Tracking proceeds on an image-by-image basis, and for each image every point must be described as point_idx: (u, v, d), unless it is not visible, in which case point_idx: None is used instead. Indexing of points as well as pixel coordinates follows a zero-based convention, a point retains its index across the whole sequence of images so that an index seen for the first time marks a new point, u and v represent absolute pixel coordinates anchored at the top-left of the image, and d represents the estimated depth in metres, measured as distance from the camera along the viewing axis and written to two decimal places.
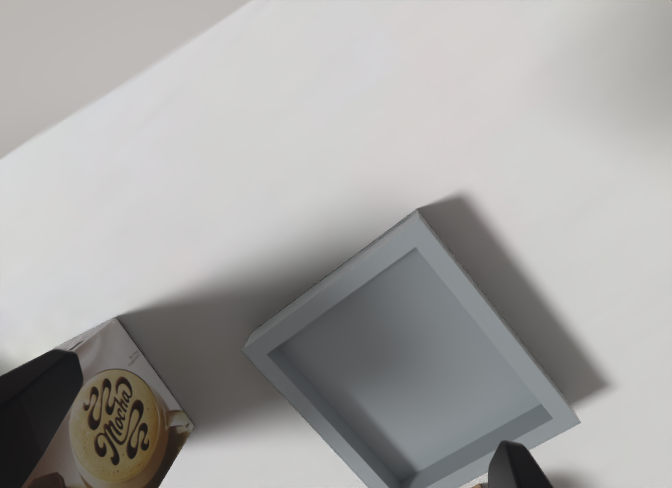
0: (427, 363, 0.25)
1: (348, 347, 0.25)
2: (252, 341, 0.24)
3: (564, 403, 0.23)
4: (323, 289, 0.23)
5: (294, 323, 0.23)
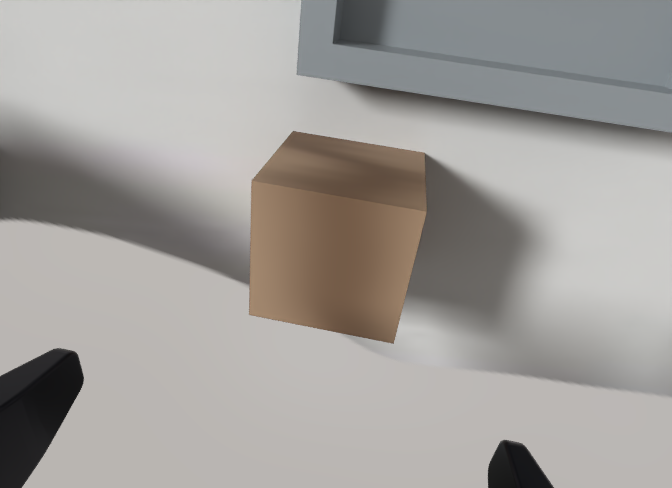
0: None
1: None
2: None
3: None
4: None
5: None
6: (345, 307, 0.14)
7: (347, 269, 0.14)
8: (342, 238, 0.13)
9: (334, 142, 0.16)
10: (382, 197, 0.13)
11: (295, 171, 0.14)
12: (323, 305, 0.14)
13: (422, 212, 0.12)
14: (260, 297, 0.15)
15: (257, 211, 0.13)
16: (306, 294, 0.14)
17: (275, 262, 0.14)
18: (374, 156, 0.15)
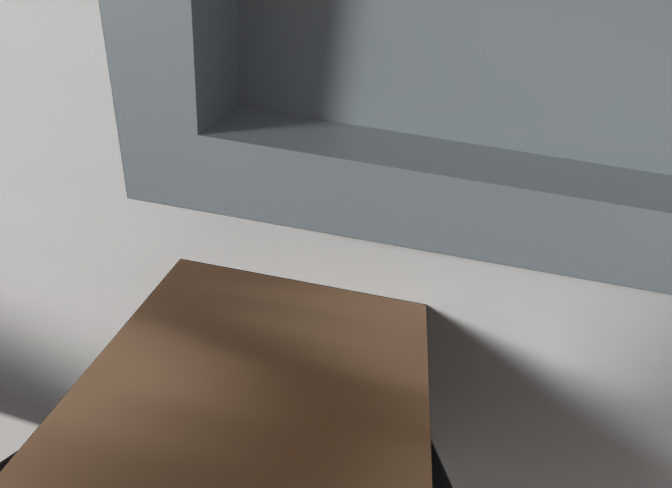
0: None
1: None
2: None
3: None
4: None
5: None
6: None
7: None
8: None
9: (251, 289, 0.08)
10: None
11: (119, 430, 0.06)
12: None
13: None
14: None
15: None
16: None
17: None
18: (324, 334, 0.08)
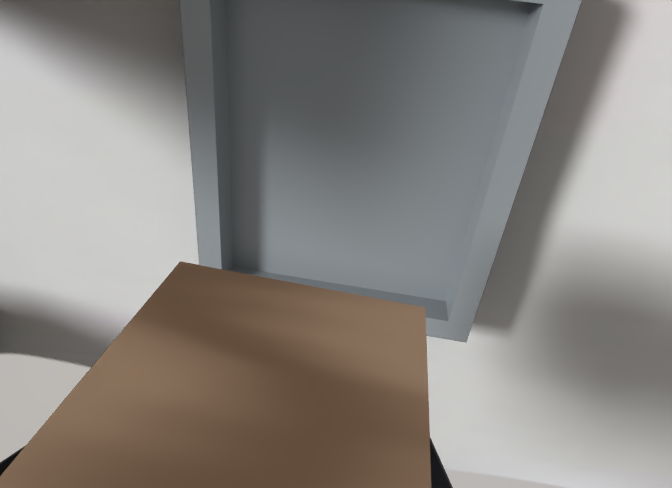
0: (383, 171, 0.17)
1: (316, 71, 0.16)
2: None
3: (473, 316, 0.19)
4: None
5: None
6: None
7: None
8: None
9: (250, 292, 0.08)
10: None
11: (119, 433, 0.06)
12: None
13: None
14: None
15: None
16: None
17: None
18: (323, 337, 0.08)
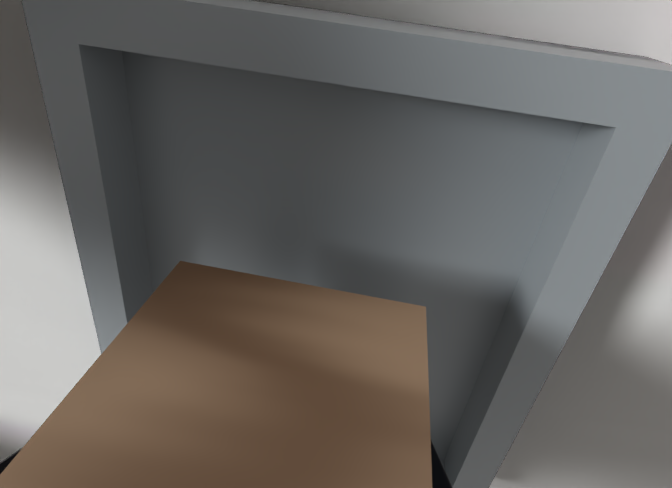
0: None
1: (263, 183, 0.11)
2: None
3: None
4: (339, 23, 0.08)
5: (202, 36, 0.08)
6: None
7: None
8: None
9: (251, 291, 0.08)
10: None
11: (120, 433, 0.06)
12: None
13: None
14: None
15: None
16: None
17: None
18: (323, 336, 0.08)
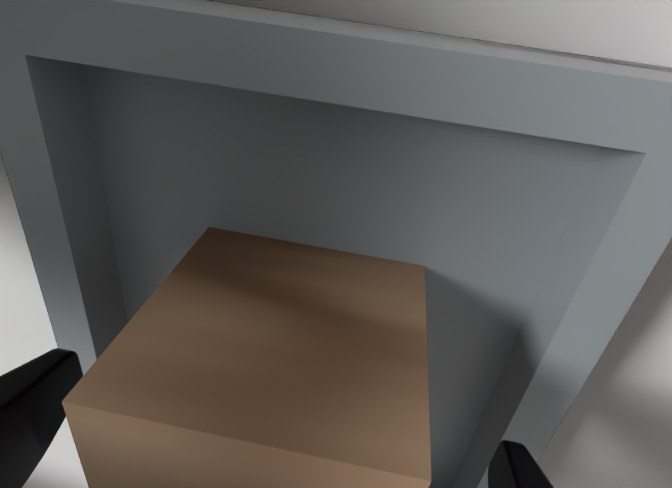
0: None
1: (243, 206, 0.10)
2: None
3: None
4: (323, 31, 0.07)
5: (165, 46, 0.07)
6: None
7: None
8: None
9: (272, 251, 0.10)
10: (338, 432, 0.06)
11: (172, 352, 0.07)
12: None
13: (421, 482, 0.06)
14: None
15: (87, 447, 0.06)
16: None
17: None
18: (336, 287, 0.09)
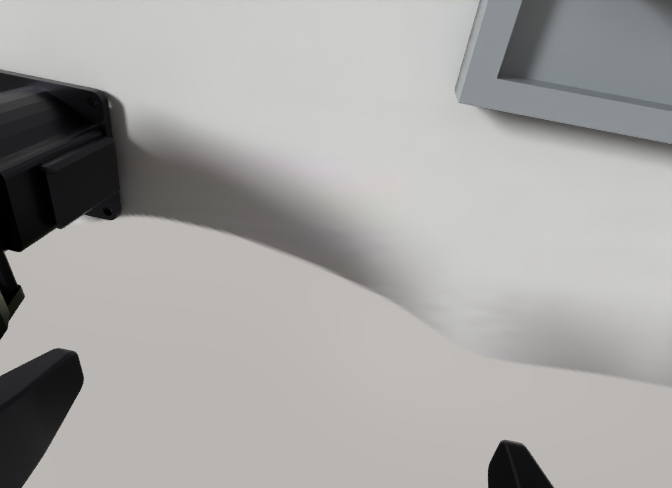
0: None
1: None
2: None
3: None
4: None
5: None
6: None
7: None
8: None
9: None
10: None
11: None
12: None
13: None
14: None
15: None
16: None
17: None
18: None
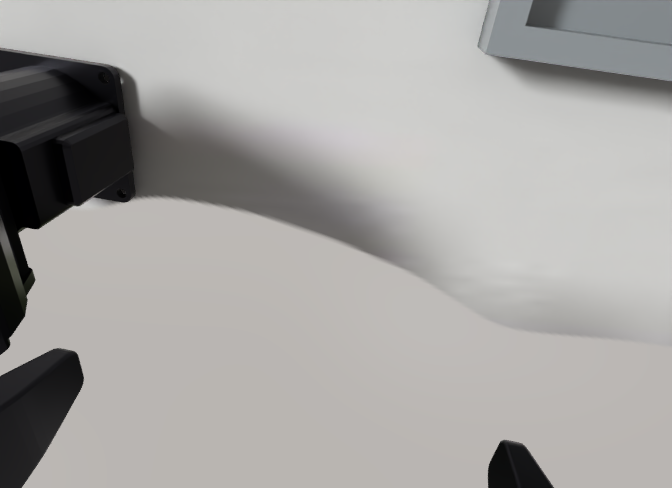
0: None
1: None
2: None
3: None
4: None
5: None
6: None
7: None
8: None
9: None
10: None
11: None
12: None
13: None
14: None
15: None
16: None
17: None
18: None
